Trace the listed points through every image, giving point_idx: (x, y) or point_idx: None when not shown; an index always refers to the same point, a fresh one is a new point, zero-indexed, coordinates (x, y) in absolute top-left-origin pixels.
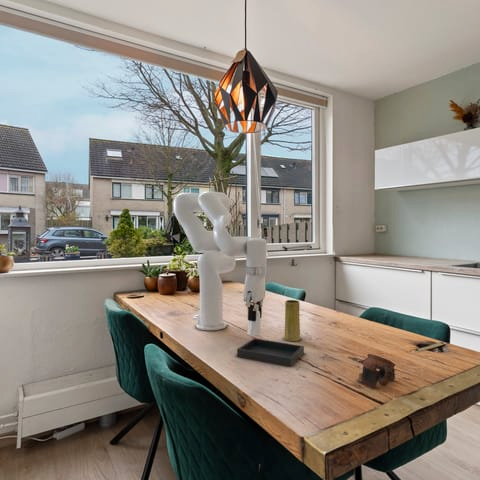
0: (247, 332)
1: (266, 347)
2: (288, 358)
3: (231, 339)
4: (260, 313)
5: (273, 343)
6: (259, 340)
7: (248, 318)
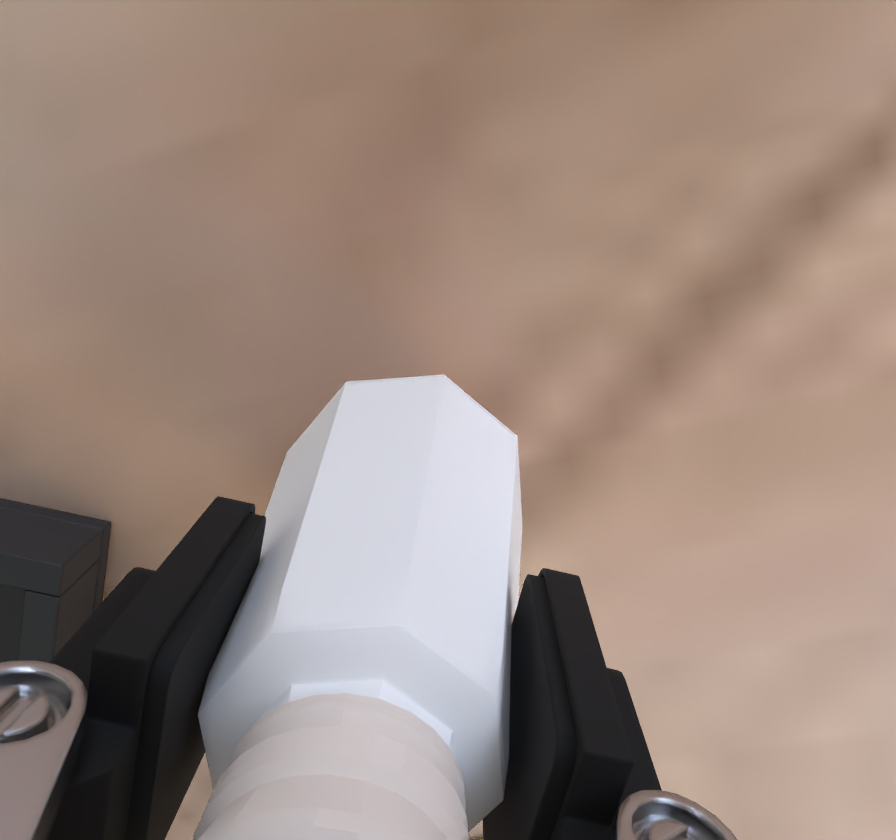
0: (345, 387)
1: None
2: None
3: (251, 111)
4: (483, 823)
5: None
6: (20, 652)
7: (206, 525)
